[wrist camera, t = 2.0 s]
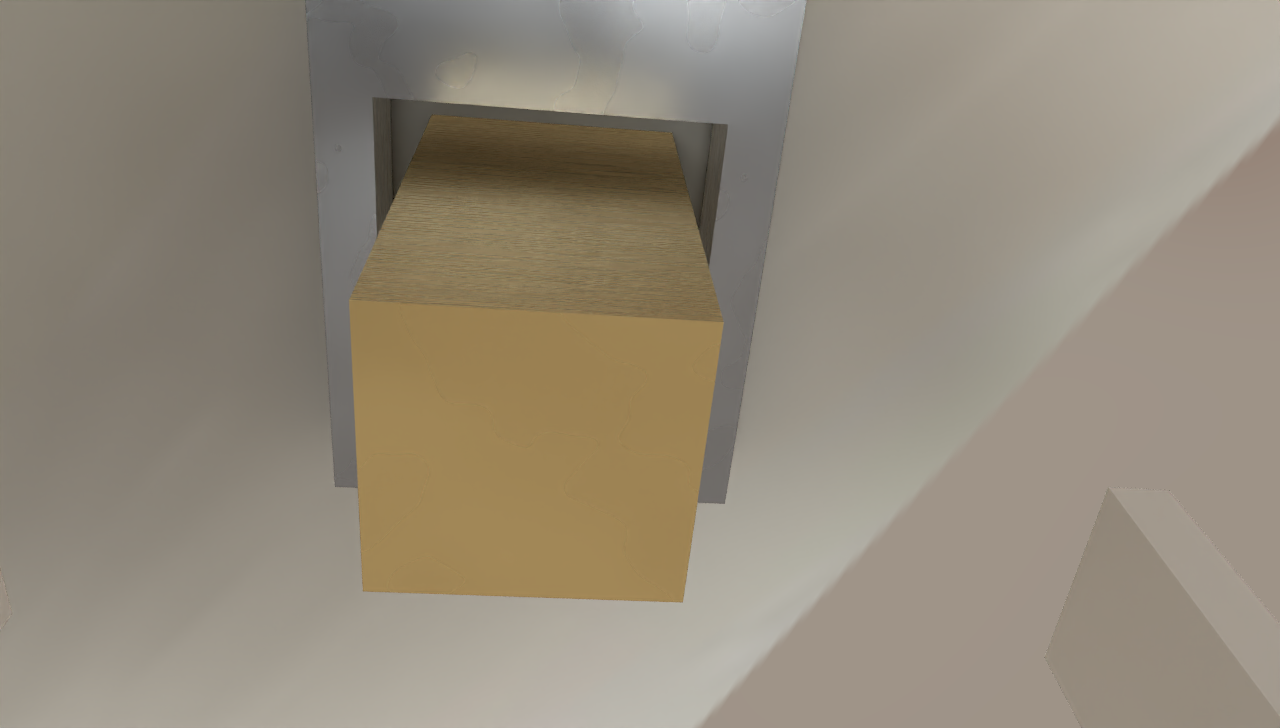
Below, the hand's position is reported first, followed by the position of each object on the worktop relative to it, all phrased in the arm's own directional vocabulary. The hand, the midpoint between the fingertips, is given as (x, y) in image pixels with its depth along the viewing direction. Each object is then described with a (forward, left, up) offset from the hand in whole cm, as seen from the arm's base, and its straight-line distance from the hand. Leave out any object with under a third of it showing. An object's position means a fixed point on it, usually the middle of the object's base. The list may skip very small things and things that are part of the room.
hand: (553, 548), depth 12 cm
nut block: (0, 0, -10) cm, 10 cm away
